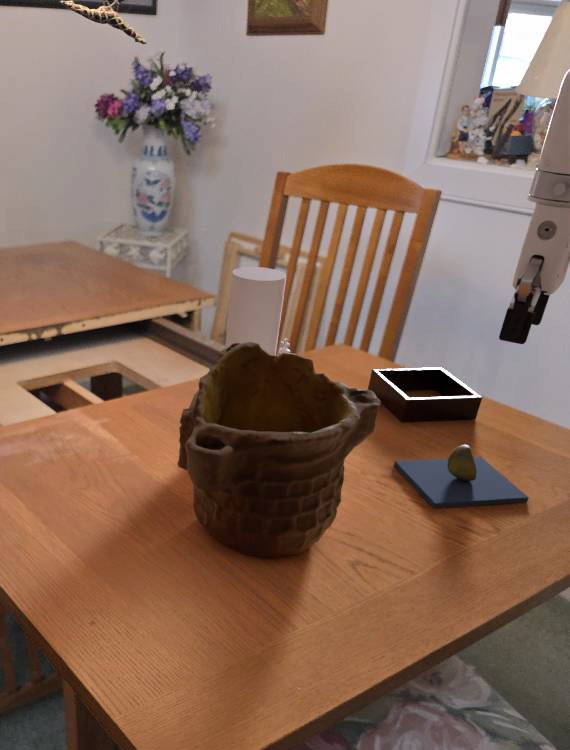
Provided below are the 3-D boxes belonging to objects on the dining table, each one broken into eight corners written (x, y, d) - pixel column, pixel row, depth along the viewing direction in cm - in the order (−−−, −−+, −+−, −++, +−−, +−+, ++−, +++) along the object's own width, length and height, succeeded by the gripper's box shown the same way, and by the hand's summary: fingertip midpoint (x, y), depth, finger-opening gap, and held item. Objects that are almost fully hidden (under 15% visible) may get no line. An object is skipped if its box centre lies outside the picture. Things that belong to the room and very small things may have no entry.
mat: (479, 461, 106) (481, 456, 106) (527, 502, 96) (529, 497, 96) (393, 465, 104) (394, 460, 103) (433, 508, 94) (435, 503, 93)
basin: (436, 388, 130) (441, 367, 128) (475, 419, 119) (482, 397, 117) (367, 390, 127) (371, 369, 125) (401, 422, 116) (407, 399, 114)
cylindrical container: (206, 442, 107) (221, 271, 93) (237, 429, 111) (255, 264, 97) (242, 459, 103) (263, 283, 89) (272, 445, 107) (297, 275, 93)
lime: (455, 467, 102) (464, 436, 99) (484, 482, 99) (494, 450, 96) (435, 475, 100) (444, 443, 97) (464, 490, 97) (475, 457, 94)
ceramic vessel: (388, 570, 67) (258, 339, 62) (201, 622, 83) (84, 441, 78) (434, 470, 84) (335, 280, 78) (270, 529, 100) (178, 374, 94)
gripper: (589, 202, 76) (537, 356, 86) (609, 184, 88) (561, 321, 98) (516, 194, 79) (473, 343, 89) (544, 178, 91) (504, 311, 101)
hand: (519, 331), depth 93 cm, fingers open, 9 cm apart
